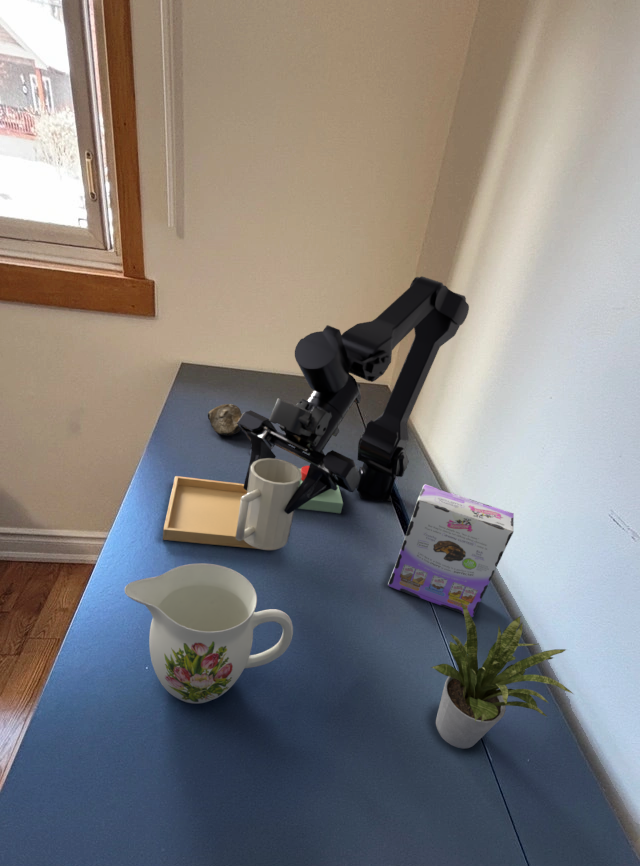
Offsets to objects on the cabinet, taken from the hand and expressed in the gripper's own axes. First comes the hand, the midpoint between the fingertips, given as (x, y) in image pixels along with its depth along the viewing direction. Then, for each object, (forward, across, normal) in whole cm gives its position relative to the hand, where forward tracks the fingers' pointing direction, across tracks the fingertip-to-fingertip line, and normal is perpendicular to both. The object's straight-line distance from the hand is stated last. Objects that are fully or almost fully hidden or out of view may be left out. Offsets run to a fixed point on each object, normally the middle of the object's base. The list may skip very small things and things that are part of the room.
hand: (265, 501), depth 74 cm
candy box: (-3, +23, +21) cm, 31 cm away
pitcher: (+22, +9, -5) cm, 25 cm away
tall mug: (+5, 0, +5) cm, 7 cm away
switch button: (-11, -7, +24) cm, 27 cm away
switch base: (-8, -7, +26) cm, 28 cm away
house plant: (+13, +36, +5) cm, 39 cm away
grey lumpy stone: (-14, -35, +32) cm, 49 cm away
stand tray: (+4, -13, +13) cm, 19 cm away
